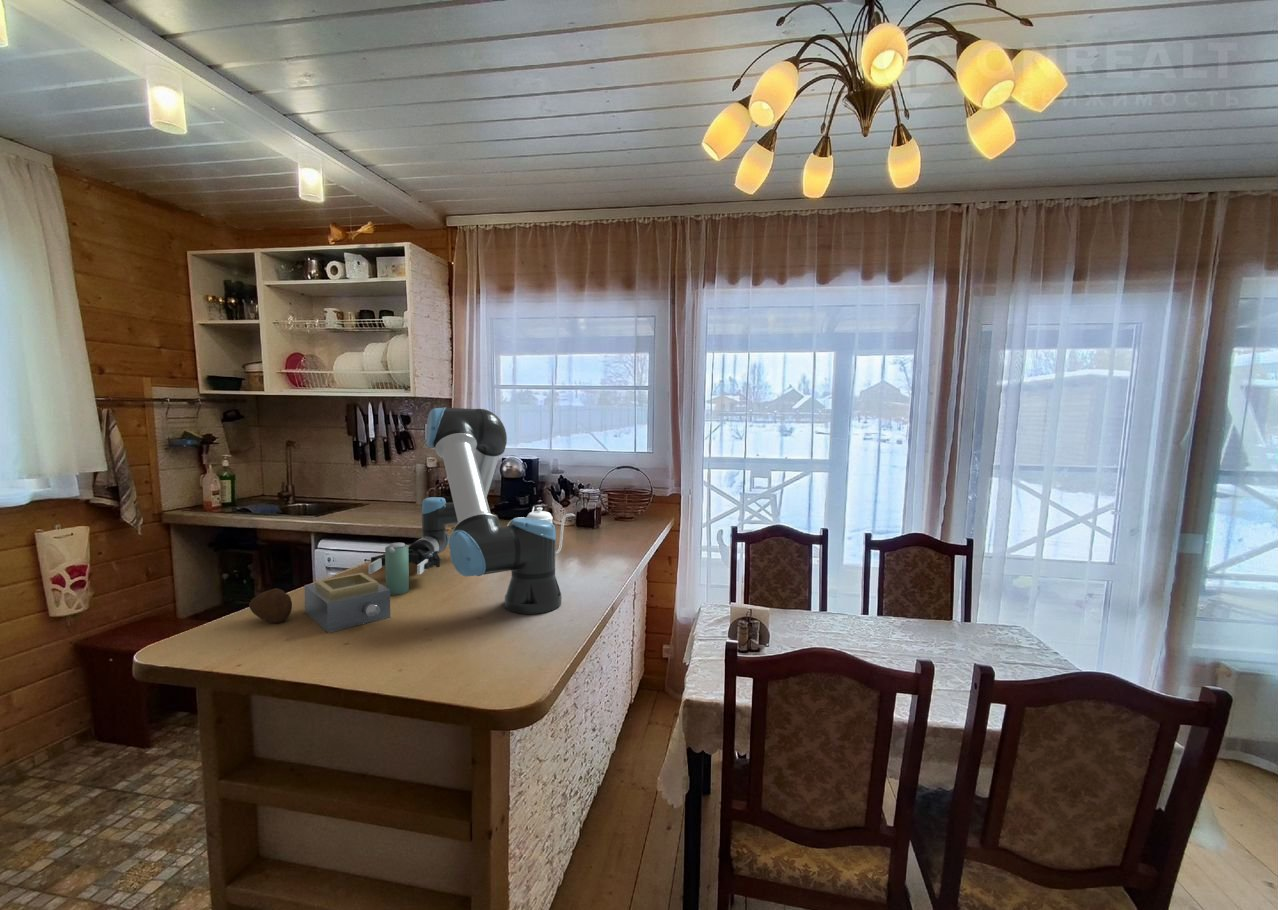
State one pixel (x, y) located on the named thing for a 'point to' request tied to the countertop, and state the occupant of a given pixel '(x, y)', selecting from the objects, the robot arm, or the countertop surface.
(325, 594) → the box
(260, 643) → the countertop surface
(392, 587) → the can
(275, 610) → the potato
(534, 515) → the coffeepot
